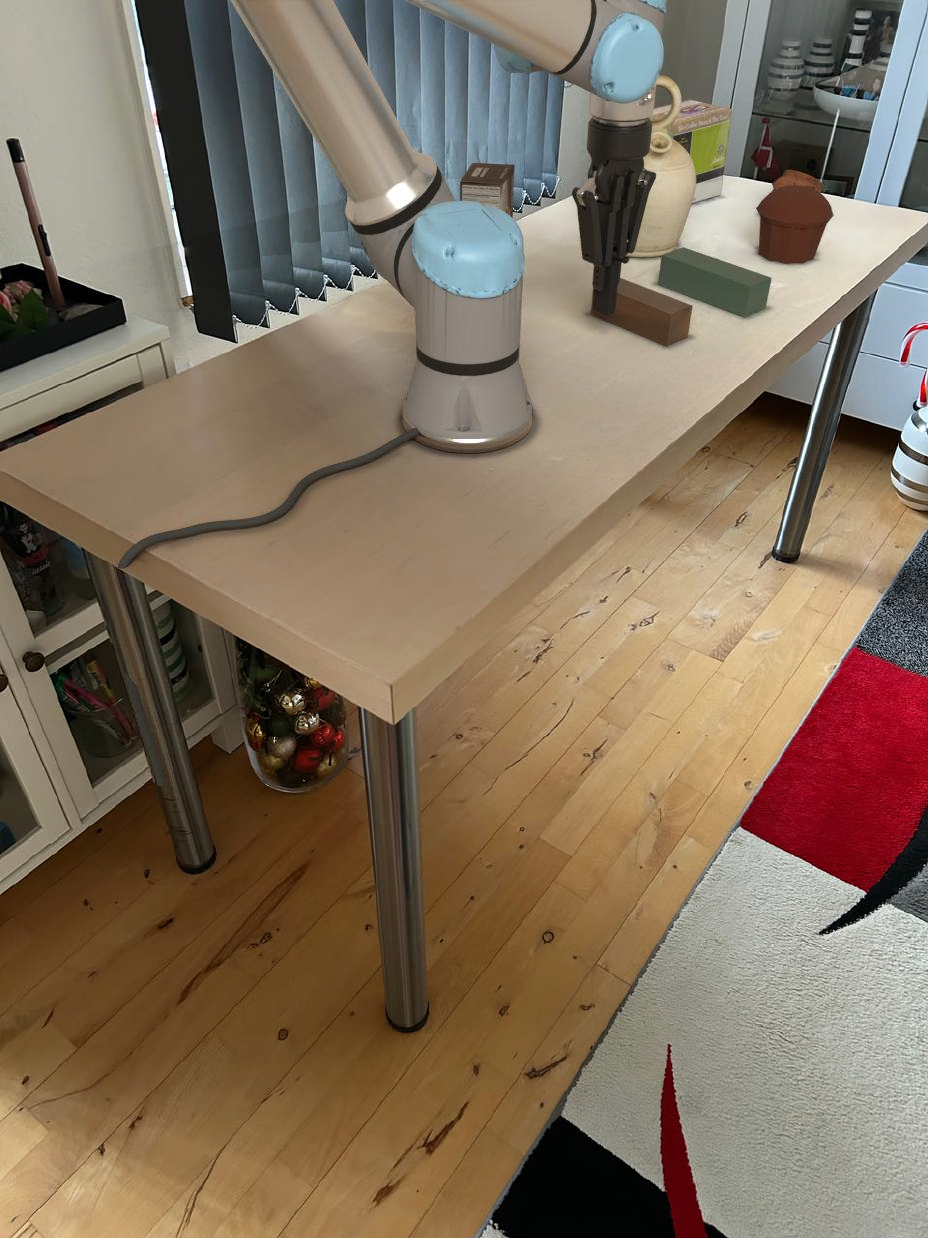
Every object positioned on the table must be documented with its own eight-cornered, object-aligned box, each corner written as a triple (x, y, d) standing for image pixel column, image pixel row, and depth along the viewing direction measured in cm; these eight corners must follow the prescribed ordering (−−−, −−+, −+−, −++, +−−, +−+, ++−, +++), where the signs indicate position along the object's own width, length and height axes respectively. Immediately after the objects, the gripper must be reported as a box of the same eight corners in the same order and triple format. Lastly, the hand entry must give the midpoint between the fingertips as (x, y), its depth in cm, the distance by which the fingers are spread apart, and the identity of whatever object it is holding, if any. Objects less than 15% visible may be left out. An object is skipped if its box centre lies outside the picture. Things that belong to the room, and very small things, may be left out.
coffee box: (470, 270, 155) (472, 160, 145) (511, 274, 154) (515, 163, 144) (458, 293, 148) (459, 179, 138) (501, 297, 147) (504, 182, 137)
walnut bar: (666, 346, 135) (671, 314, 132) (590, 314, 143) (593, 283, 140) (688, 337, 137) (693, 305, 134) (611, 305, 145) (614, 275, 142)
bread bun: (748, 211, 178) (770, 165, 176) (789, 234, 182) (811, 188, 179) (782, 215, 168) (807, 165, 165) (825, 238, 171) (850, 190, 168)
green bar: (744, 317, 142) (750, 286, 139) (657, 284, 151) (661, 254, 148) (765, 308, 144) (772, 277, 142) (679, 276, 154) (683, 246, 151)
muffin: (824, 245, 164) (839, 181, 158) (823, 269, 156) (839, 203, 149) (750, 238, 167) (761, 174, 160) (745, 262, 158) (758, 196, 152)
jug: (678, 267, 157) (703, 90, 141) (581, 255, 160) (595, 81, 144) (693, 235, 168) (718, 67, 152) (602, 224, 171) (617, 59, 155)
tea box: (680, 183, 189) (691, 96, 180) (721, 196, 183) (735, 108, 174) (623, 199, 182) (632, 109, 173) (664, 213, 176) (676, 121, 166)
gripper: (606, 134, 113) (590, 334, 128) (681, 114, 119) (657, 306, 134) (558, 121, 117) (548, 315, 132) (633, 102, 123) (615, 289, 139)
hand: (603, 310), depth 133 cm, fingers closed
